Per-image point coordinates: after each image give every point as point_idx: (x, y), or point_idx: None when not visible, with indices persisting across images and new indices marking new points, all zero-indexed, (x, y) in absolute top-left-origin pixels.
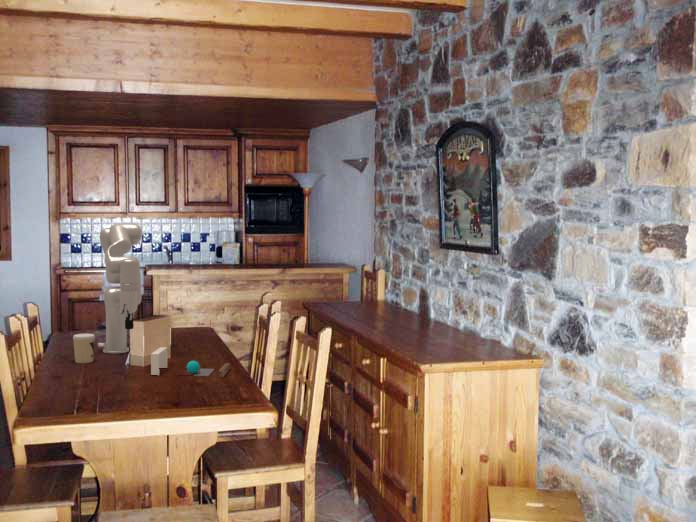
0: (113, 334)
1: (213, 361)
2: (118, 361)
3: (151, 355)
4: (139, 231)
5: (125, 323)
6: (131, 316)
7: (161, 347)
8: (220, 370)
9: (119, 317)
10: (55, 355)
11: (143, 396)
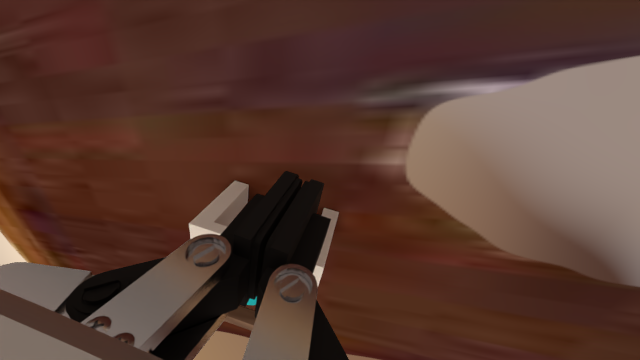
0: None
1: (398, 333)
2: (540, 35)
3: (193, 221)
4: None
5: (260, 205)
6: (185, 346)
7: (316, 269)
8: (230, 319)
9: None
10: None
11: (45, 157)
